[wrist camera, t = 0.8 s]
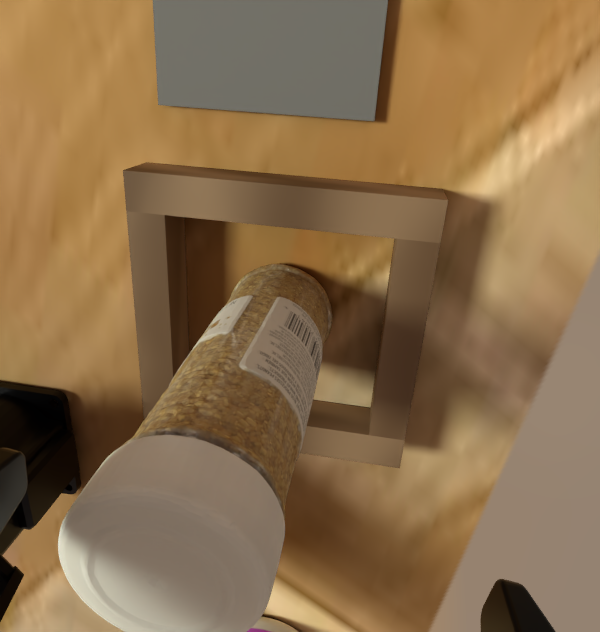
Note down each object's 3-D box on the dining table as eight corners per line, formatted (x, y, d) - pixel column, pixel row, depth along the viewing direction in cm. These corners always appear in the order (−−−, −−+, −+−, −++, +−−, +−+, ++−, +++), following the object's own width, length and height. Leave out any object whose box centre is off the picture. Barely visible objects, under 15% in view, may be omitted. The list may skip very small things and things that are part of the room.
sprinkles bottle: (222, 267, 22) (14, 496, 10) (328, 256, 21) (243, 495, 9) (243, 361, 24) (89, 653, 12) (341, 354, 23) (285, 666, 11)
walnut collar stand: (162, 404, 25) (144, 429, 24) (146, 162, 21) (123, 170, 19) (398, 439, 24) (399, 468, 22) (442, 189, 19) (448, 200, 17)
